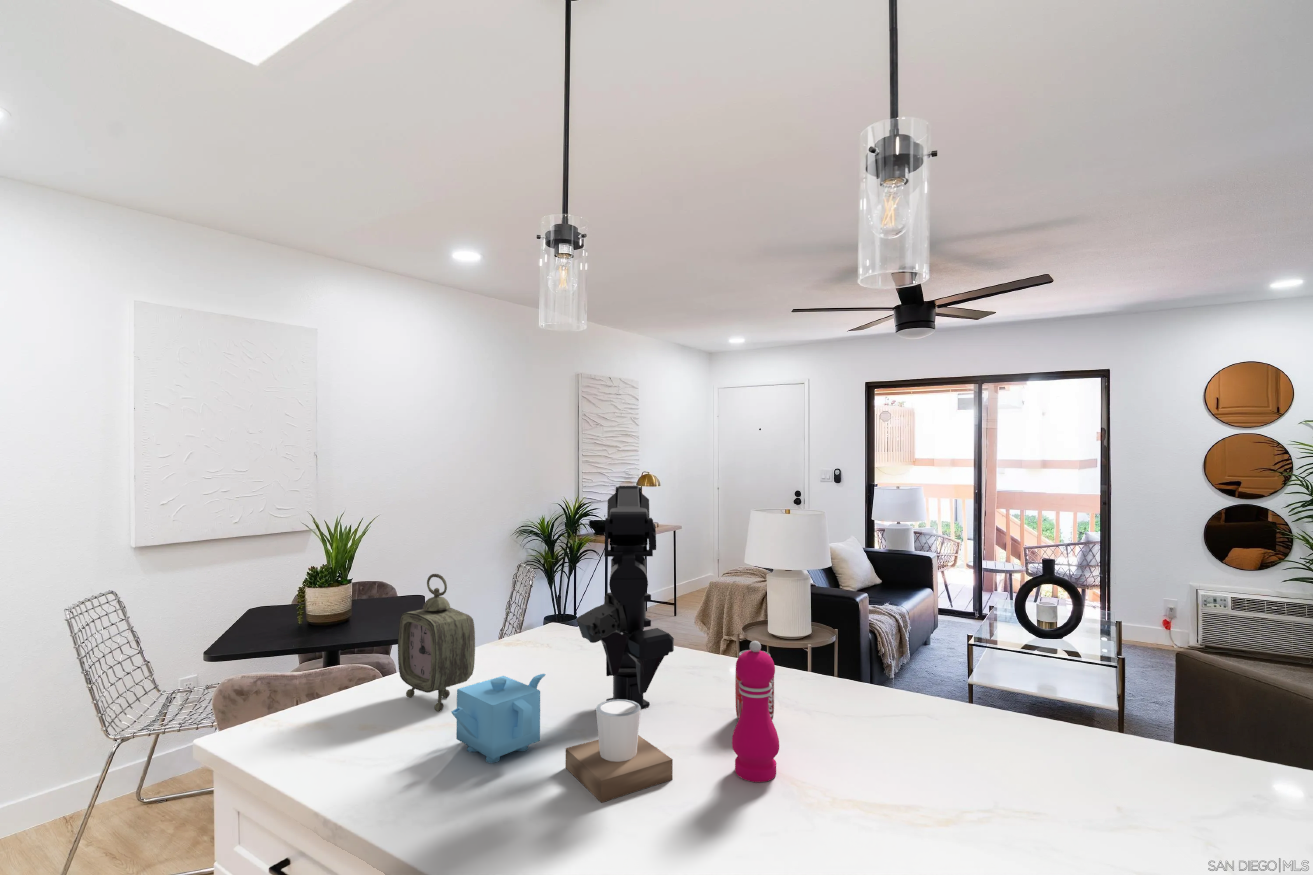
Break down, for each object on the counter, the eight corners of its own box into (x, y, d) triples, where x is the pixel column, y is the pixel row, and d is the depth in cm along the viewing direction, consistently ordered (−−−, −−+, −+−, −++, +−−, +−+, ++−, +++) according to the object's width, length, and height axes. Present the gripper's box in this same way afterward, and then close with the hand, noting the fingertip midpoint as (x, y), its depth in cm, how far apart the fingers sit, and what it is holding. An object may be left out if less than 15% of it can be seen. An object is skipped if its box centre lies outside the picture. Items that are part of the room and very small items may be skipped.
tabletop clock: (397, 697, 129) (398, 572, 130) (438, 685, 136) (439, 566, 136) (435, 717, 119) (437, 581, 120) (477, 702, 126) (479, 575, 127)
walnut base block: (565, 767, 100) (565, 747, 100) (632, 748, 106) (632, 730, 106) (601, 802, 90) (601, 780, 90) (672, 779, 96) (672, 759, 96)
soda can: (772, 713, 121) (772, 649, 122) (775, 729, 114) (775, 660, 115) (735, 711, 122) (734, 648, 122) (735, 727, 115) (735, 659, 115)
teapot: (427, 750, 106) (428, 681, 106) (519, 718, 119) (520, 656, 119) (480, 784, 95) (481, 706, 95) (574, 744, 108) (575, 676, 108)
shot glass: (596, 743, 102) (596, 698, 102) (639, 742, 102) (639, 697, 102) (595, 764, 95) (595, 716, 95) (641, 762, 95) (641, 714, 95)
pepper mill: (782, 765, 101) (782, 636, 101) (775, 787, 94) (775, 649, 95) (737, 758, 103) (737, 632, 104) (727, 779, 96) (727, 645, 97)
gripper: (559, 582, 108) (559, 675, 108) (611, 607, 93) (611, 715, 93) (617, 575, 114) (617, 662, 114) (675, 597, 98) (675, 699, 98)
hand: (628, 683), depth 105 cm, fingers open, 9 cm apart
